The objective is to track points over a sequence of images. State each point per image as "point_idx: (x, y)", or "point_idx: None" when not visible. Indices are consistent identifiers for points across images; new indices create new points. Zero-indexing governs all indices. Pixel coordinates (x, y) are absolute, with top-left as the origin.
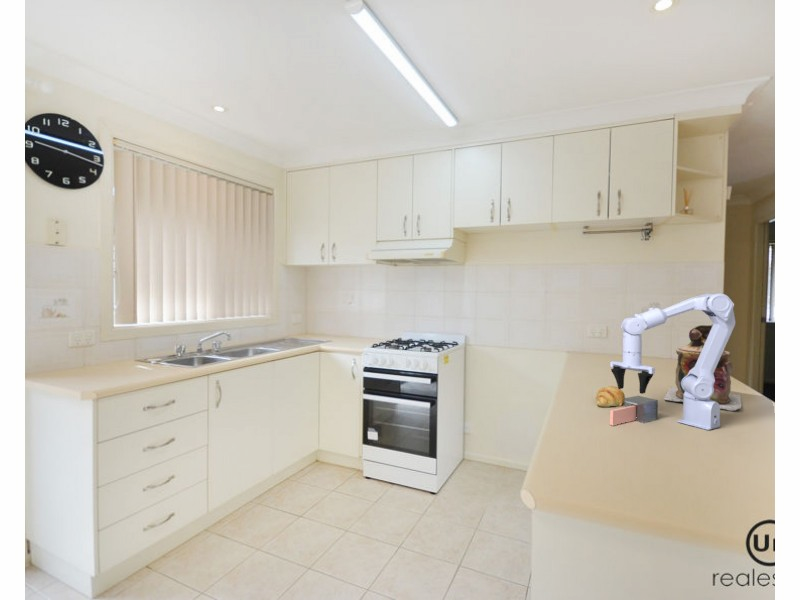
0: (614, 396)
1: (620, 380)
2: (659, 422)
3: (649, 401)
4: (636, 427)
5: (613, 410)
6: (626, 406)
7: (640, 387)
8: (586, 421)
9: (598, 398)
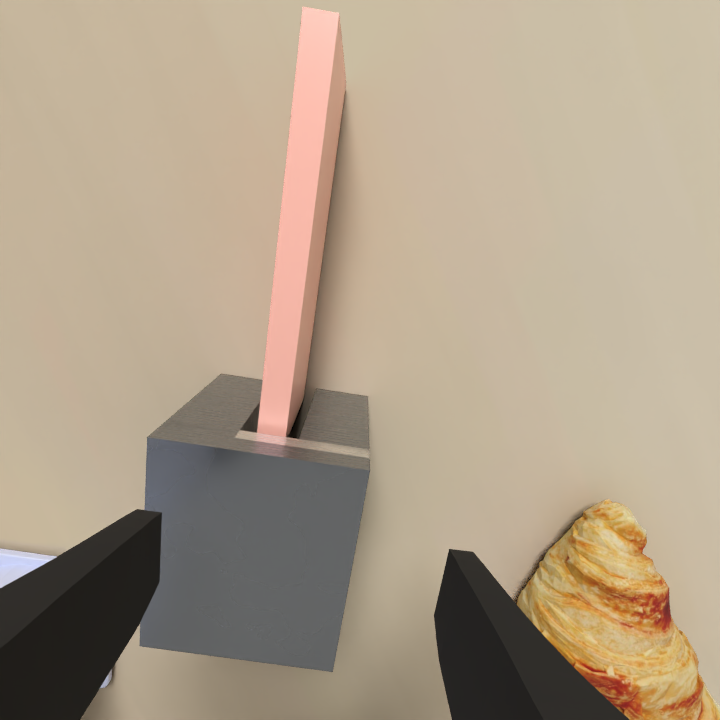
0: None
1: (486, 688)
2: None
3: None
4: (201, 221)
5: (312, 41)
6: (350, 431)
7: (88, 557)
8: (525, 15)
9: (654, 575)
